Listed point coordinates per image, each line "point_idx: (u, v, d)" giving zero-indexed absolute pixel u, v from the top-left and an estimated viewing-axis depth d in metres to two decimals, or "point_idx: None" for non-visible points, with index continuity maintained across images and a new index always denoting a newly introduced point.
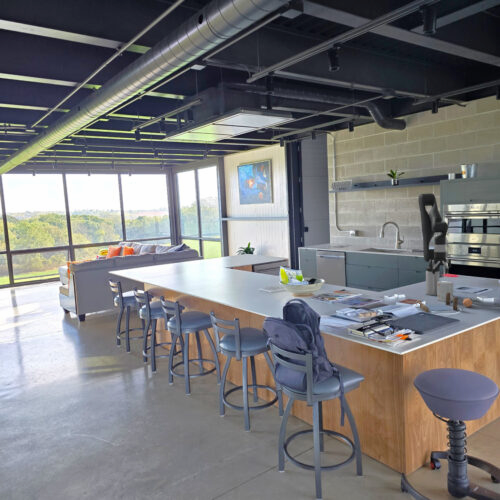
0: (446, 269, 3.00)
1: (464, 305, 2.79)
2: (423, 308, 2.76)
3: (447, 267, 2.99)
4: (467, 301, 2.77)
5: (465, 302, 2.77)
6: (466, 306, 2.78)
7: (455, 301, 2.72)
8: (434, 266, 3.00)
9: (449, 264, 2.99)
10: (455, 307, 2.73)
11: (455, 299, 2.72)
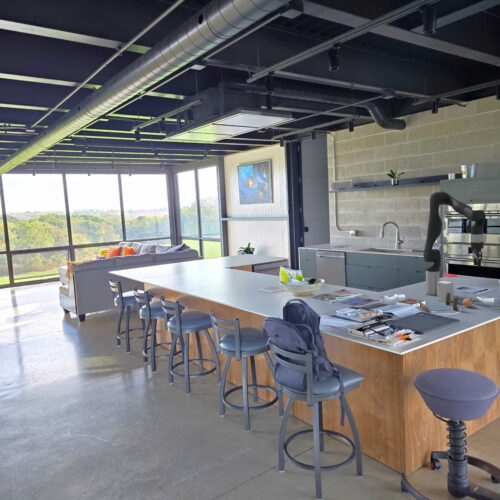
0: None
1: (464, 305, 2.79)
2: (423, 308, 2.76)
3: None
4: (467, 301, 2.77)
5: (465, 302, 2.77)
6: (466, 306, 2.78)
7: (455, 301, 2.72)
8: None
9: None
10: (455, 307, 2.73)
11: (455, 299, 2.72)
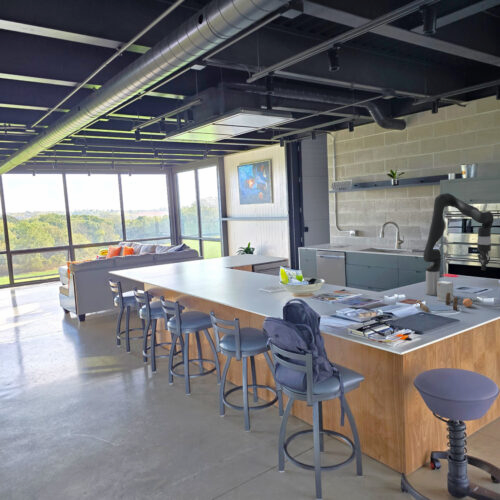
0: None
1: (464, 305, 2.79)
2: (423, 308, 2.76)
3: None
4: (467, 301, 2.77)
5: (465, 302, 2.77)
6: (466, 306, 2.78)
7: (455, 301, 2.72)
8: None
9: None
10: (455, 307, 2.73)
11: (455, 299, 2.72)
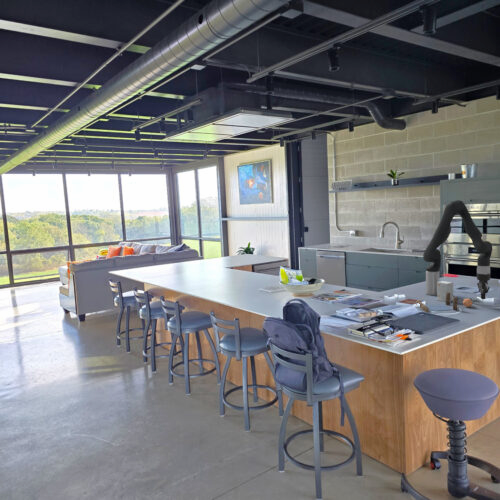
0: (484, 294, 2.77)
1: (464, 305, 2.79)
2: (423, 308, 2.76)
3: None
4: (467, 301, 2.77)
5: (465, 302, 2.77)
6: (466, 306, 2.78)
7: (455, 301, 2.72)
8: None
9: None
10: (455, 307, 2.73)
11: (455, 299, 2.72)
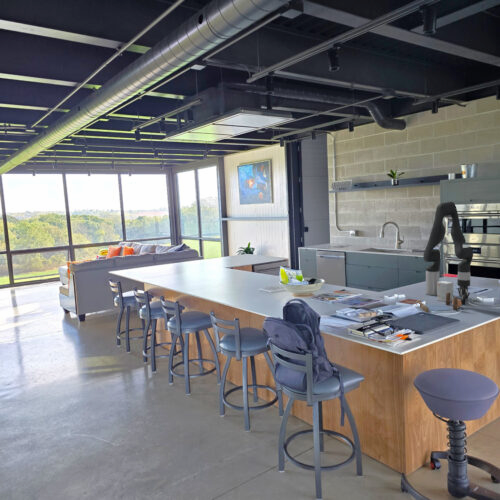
0: None
1: (461, 304, 2.79)
2: (423, 308, 2.76)
3: None
4: None
5: None
6: (461, 303, 2.78)
7: (455, 301, 2.72)
8: None
9: None
10: (455, 307, 2.73)
11: (455, 299, 2.72)
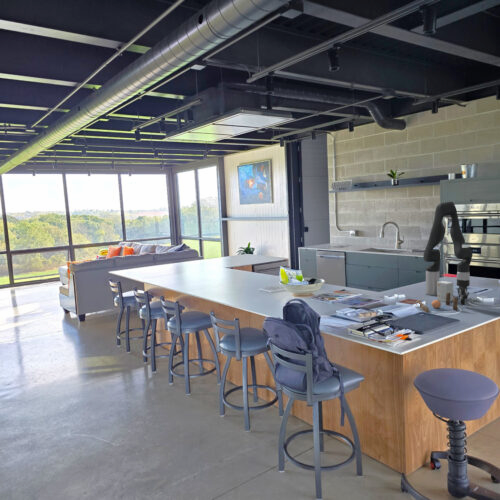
0: (464, 299, 2.79)
1: None
2: (423, 308, 2.76)
3: None
4: (434, 304, 2.77)
5: (433, 306, 2.78)
6: None
7: (455, 301, 2.72)
8: None
9: None
10: (455, 307, 2.73)
11: (455, 299, 2.72)
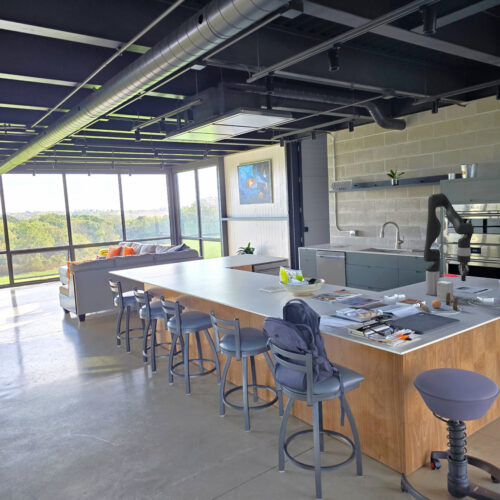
0: None
1: None
2: (423, 308, 2.76)
3: None
4: (434, 304, 2.77)
5: (433, 306, 2.78)
6: None
7: (455, 301, 2.72)
8: None
9: None
10: (455, 307, 2.73)
11: (455, 299, 2.72)
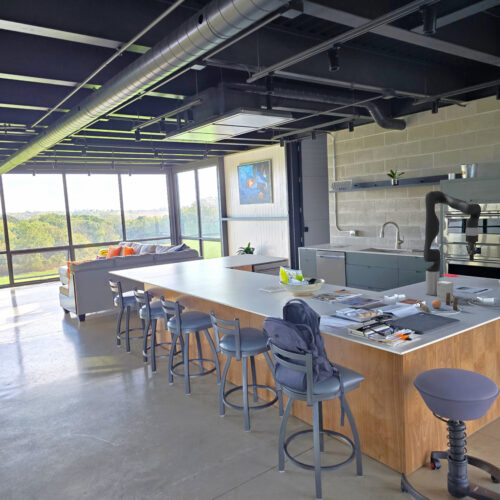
0: None
1: None
2: (423, 308, 2.76)
3: None
4: (434, 304, 2.77)
5: (433, 306, 2.78)
6: None
7: (455, 301, 2.72)
8: None
9: None
10: (455, 307, 2.73)
11: (455, 299, 2.72)
